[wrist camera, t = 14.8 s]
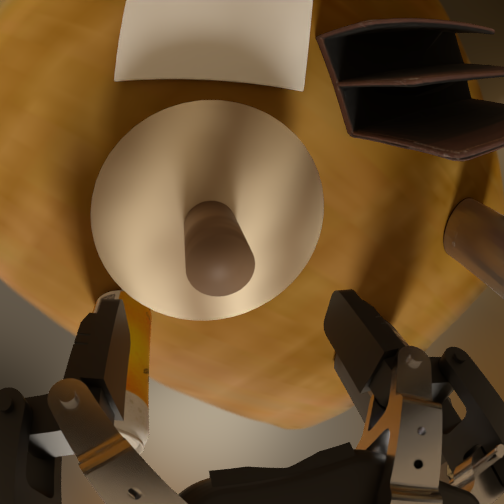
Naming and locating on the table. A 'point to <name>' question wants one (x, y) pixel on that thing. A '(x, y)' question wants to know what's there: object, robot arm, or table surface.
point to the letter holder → (413, 86)
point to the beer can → (135, 371)
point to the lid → (207, 210)
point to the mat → (216, 41)
